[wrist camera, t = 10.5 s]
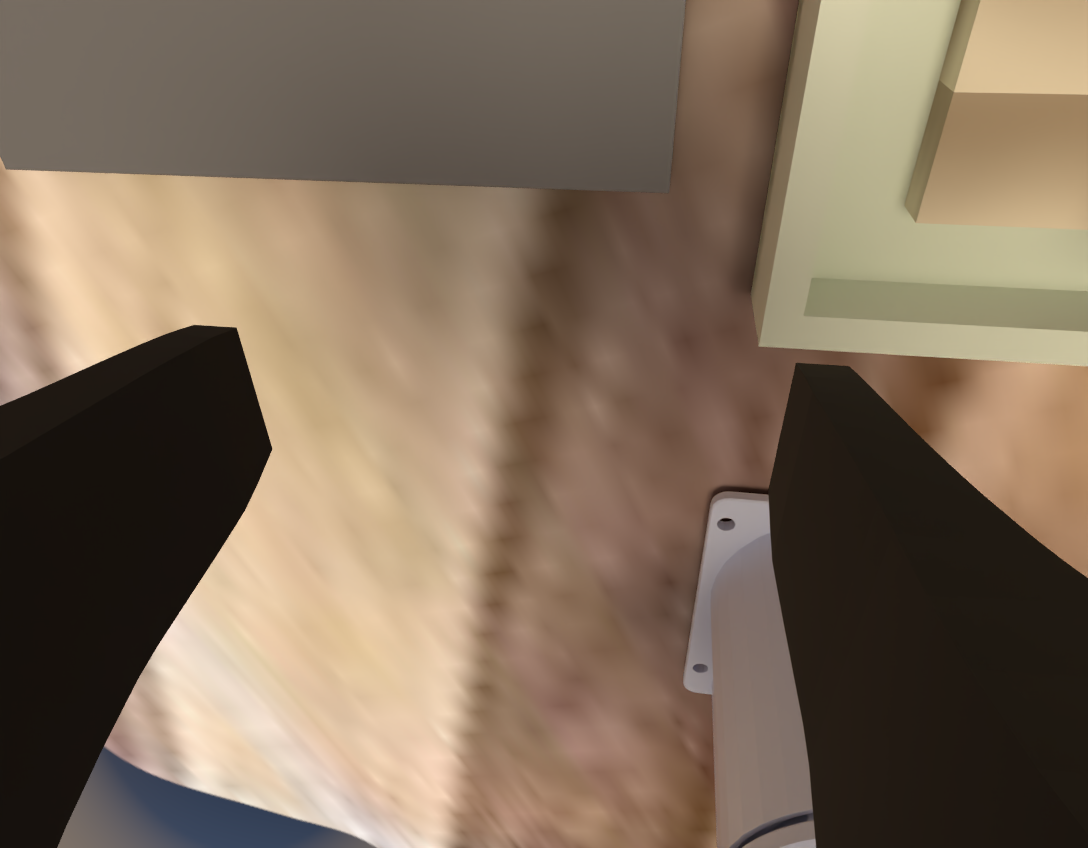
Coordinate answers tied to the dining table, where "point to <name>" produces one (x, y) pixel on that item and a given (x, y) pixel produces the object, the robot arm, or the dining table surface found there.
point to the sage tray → (895, 211)
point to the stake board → (346, 90)
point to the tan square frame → (1008, 120)
